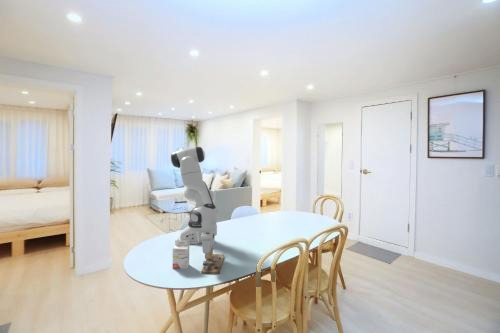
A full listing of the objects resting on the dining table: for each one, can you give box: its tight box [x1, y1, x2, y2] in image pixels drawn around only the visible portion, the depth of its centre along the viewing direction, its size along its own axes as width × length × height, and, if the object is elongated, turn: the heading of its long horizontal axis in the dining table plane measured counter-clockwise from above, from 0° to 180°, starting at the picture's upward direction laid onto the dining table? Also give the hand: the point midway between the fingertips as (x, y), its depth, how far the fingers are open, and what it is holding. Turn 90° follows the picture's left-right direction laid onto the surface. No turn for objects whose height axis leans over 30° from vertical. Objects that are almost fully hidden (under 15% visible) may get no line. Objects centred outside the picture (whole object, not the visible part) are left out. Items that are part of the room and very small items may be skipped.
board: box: [200, 253, 225, 275], centre depth 144 cm, size 10×22×4 cm, turn 0°
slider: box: [204, 247, 219, 261], centre depth 146 cm, size 8×4×7 cm, turn 90°
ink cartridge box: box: [172, 239, 190, 270], centre depth 140 cm, size 9×5×15 cm, turn 92°
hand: (209, 254), depth 146 cm, fingers closed on slider, 4 cm apart
